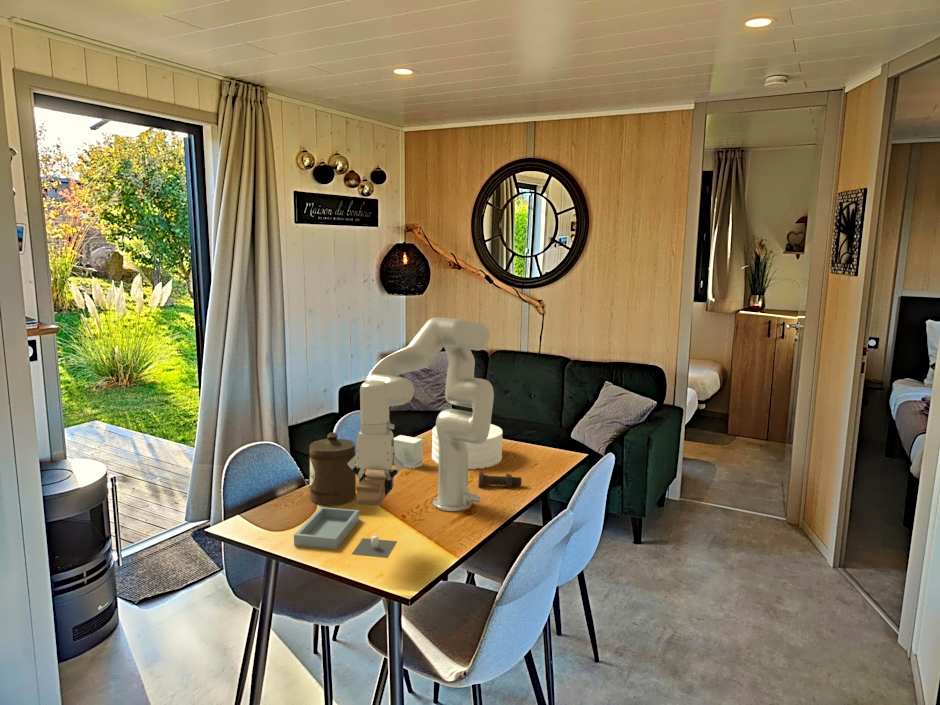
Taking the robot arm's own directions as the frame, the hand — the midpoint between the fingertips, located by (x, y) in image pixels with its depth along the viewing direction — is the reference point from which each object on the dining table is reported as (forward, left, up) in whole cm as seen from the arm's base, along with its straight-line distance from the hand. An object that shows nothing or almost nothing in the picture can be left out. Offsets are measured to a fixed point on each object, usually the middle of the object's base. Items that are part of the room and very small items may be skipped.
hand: (375, 491), depth 177 cm
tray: (+16, -7, -17) cm, 24 cm away
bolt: (-28, -56, -18) cm, 65 cm away
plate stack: (-12, -86, -18) cm, 88 cm away
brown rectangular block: (0, 0, -1) cm, 1 cm away
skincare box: (+9, -72, -17) cm, 74 cm away
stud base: (0, 0, -17) cm, 17 cm away
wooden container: (+25, -35, -17) cm, 46 cm away
